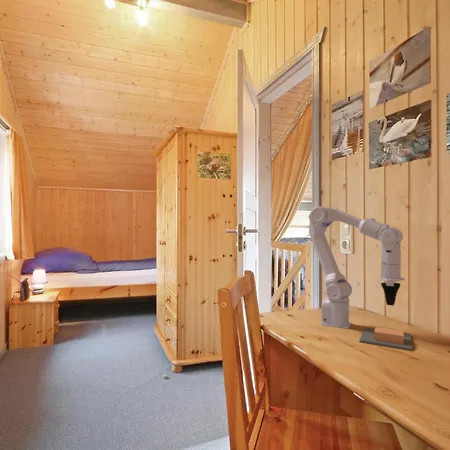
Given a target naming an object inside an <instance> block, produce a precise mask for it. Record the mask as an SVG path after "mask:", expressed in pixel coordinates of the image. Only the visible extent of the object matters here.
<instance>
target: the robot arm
mask: <svg viewBox="0 0 450 450" xmlns="http://www.w3.org/2000/svg"><path fill="white" fill-rule="evenodd" d="M307 217H308V220H309V227H308V235H309V237H310V240H311V242H312V245H313V248H314V250H315V253H316V255H317V258H318V260H319V264H320V265H321V268H322V270H323V272H324V275H325V278H324V279H325V280H324V286H325V294H326V296H327V298H323V299H322V302H321V323H320V325H322V326H328V327H336V328H341V329H349V328H350V327H351V325H352V322H351V321H350V299H349V297H350V296H351V295H352V292H353V287H352V285H351V283H349V282H348V281H347V279H346V277H345V276H344V275H343V274H342V272H341V271H340V269H339V266H338V263H337V261H336V259H335V257H334V254H333V251H332V249H331V247H330V244H329V242H328V239H327V237H326V234H325V233H326V232H327V229H328V228H329V226H331V225H332V224H333V223H334V222H340V223H344V224H345V225H346V224H347V225H348V226H352V227H355V228H357V229H358V230H359V232H360V234H362V235H364V236H367V237H370V238H371V239H375V240H377V241H380V242H381V266H380V270H381V271H380V273H381V274H380V275H381V276H380V280H382V281H385V282H381V283H380V285H381V287H382V290H383V292H384V293H383V294H384V297H385V303H386V305H387V306H393V307H394V306H395V302H396V299H397V293H398V291H399V289H400V287H401V283H400V281H405V277H402V276H401V272H402V271H401V270H402V269H401V268H402V266H401V265H402V264H401V263H402V250H401V242H402V241H403V237H404V236H403V232H402V231H401V230H400V229H398V228H397V227H394V226H393V227H390V224H388V223H381V222H379V221H376V218H374V217H370V218H364V219H362V218H358V217H356V216H354V215H351V214H350V213H347V212H346V211H344V210H340V209H337V208H336V209H335V208H332V207H325V206H320V205H317V206H314V207H313V208H312V209H311V211H310V212H309V214H308V216H307Z"/></svg>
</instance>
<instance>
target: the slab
mask: <svg viewBox="0 0 450 450" xmlns="http://www.w3.org/2000/svg"><path fill="white" fill-rule="evenodd" d="M374 329H375V331H374V340H378V341H385V342H391V343H397V344H403V345H404V333H405V332H404V331H405V330H401V329H394V328H393V329H392V328H387V327H386V328H385V327H380V326H375V328H374Z"/></svg>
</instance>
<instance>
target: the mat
mask: <svg viewBox="0 0 450 450" xmlns="http://www.w3.org/2000/svg"><path fill="white" fill-rule="evenodd" d="M374 331H375V328H374V327H367V326H366V327H363V331H362V334H361V336H360V338H359V343H363V344H367V345H368V344H369V345H373V346H375V345H376V346H381V347H387V348H393V349H399V350H406V351H410V352H411V351H413V345H412V344H413V343H412V334H411V333H408V332H404V345H403V344H397V343H391V342H385V341H378V340H374Z"/></svg>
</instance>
